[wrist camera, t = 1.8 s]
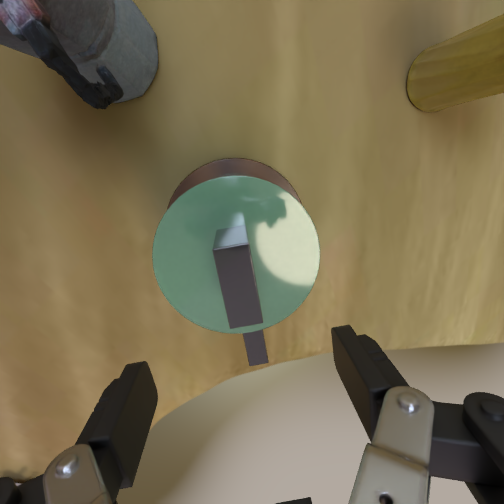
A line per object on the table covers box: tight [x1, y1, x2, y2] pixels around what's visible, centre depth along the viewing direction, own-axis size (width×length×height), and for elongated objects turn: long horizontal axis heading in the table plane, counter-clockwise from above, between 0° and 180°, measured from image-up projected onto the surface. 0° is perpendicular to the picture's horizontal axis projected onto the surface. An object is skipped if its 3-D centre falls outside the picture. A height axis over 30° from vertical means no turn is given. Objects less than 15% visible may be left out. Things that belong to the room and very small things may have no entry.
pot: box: [152, 173, 320, 366], centre depth 27 cm, size 19×14×15 cm
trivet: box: [167, 158, 302, 210], centre depth 34 cm, size 16×16×1 cm
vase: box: [407, 14, 504, 112], centre depth 24 cm, size 6×6×14 cm
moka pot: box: [0, 0, 158, 109], centre depth 18 cm, size 10×15×20 cm, turn 36°
